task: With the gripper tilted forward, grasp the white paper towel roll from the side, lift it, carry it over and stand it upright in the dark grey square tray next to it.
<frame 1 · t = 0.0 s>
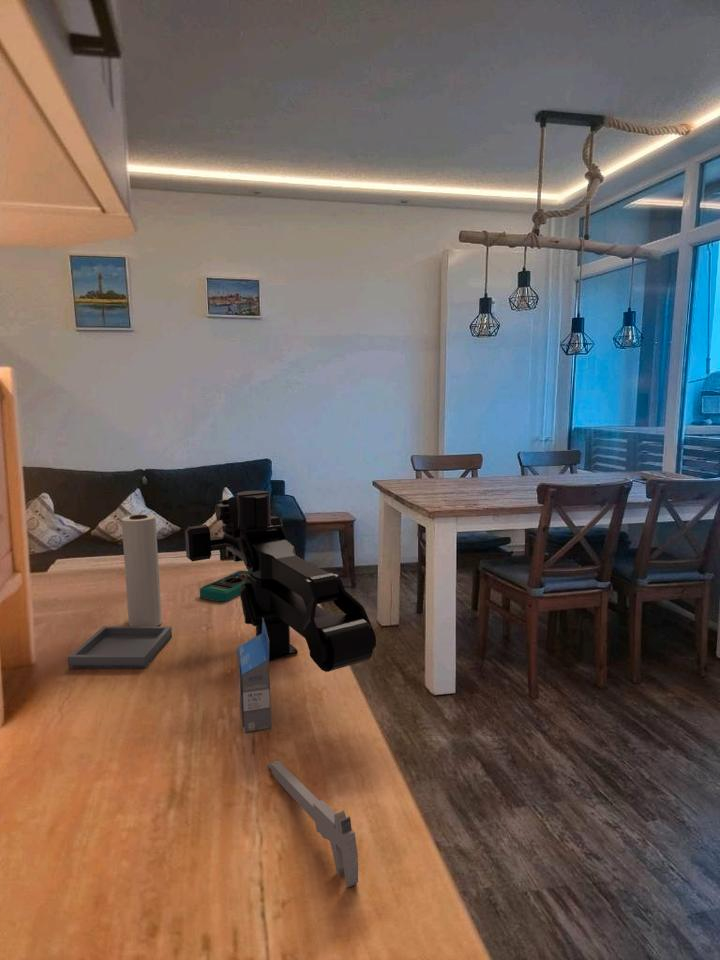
hand: (221, 529, 119), 17 cm above the table, tool horizontal, fingers open, 9 cm apart
digital multimeter: (233, 592, 133), on the table
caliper: (306, 821, 61), on the table
paper towel roll: (146, 624, 113), on the table
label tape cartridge: (255, 715, 81), on the table
tray: (123, 651, 101), on the table
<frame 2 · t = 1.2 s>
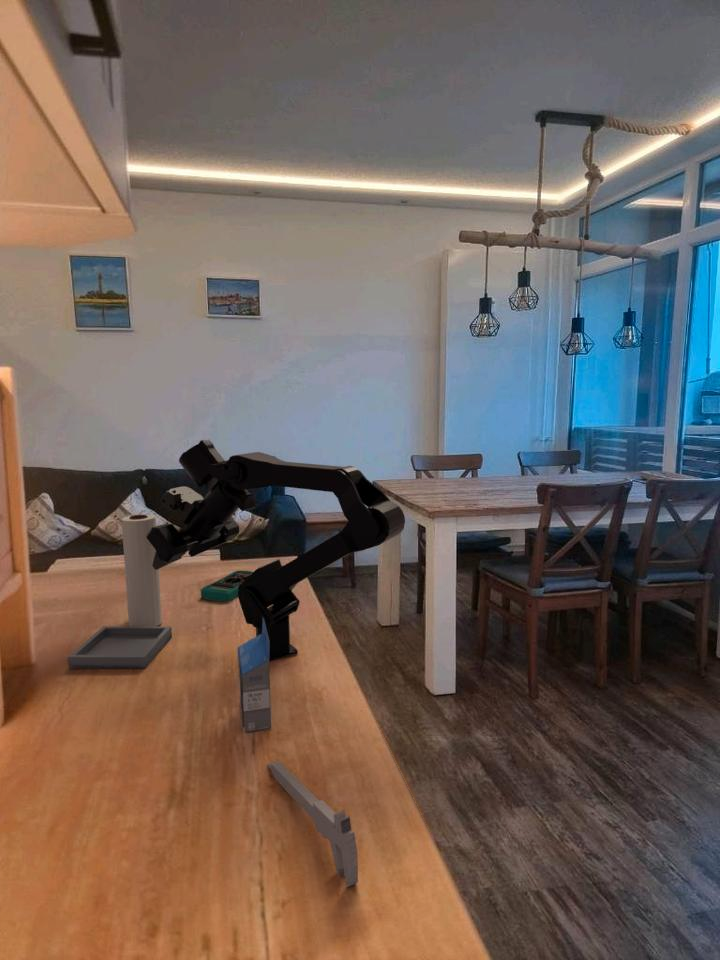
hand: (173, 561, 108), 13 cm above the table, tool tilted 45°, fingers open, 9 cm apart
nothing on the table moved.
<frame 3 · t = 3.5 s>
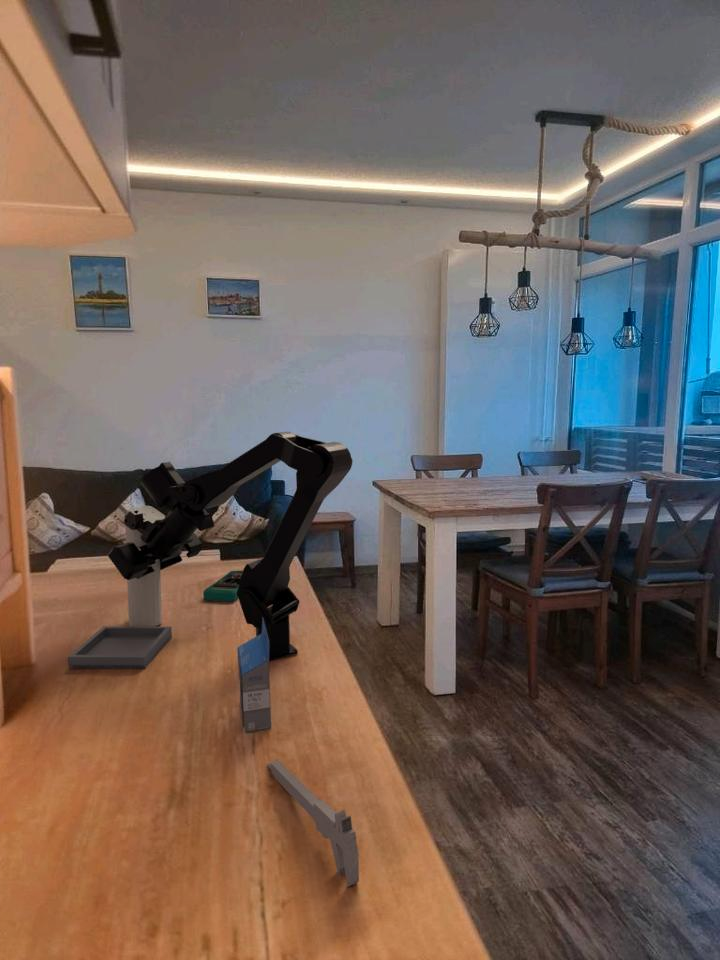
hand: (137, 577, 112), 9 cm above the table, tool tilted 45°, fingers closed on paper towel roll, 3 cm apart
paper towel roll: (146, 624, 113), on the table, touching gripper
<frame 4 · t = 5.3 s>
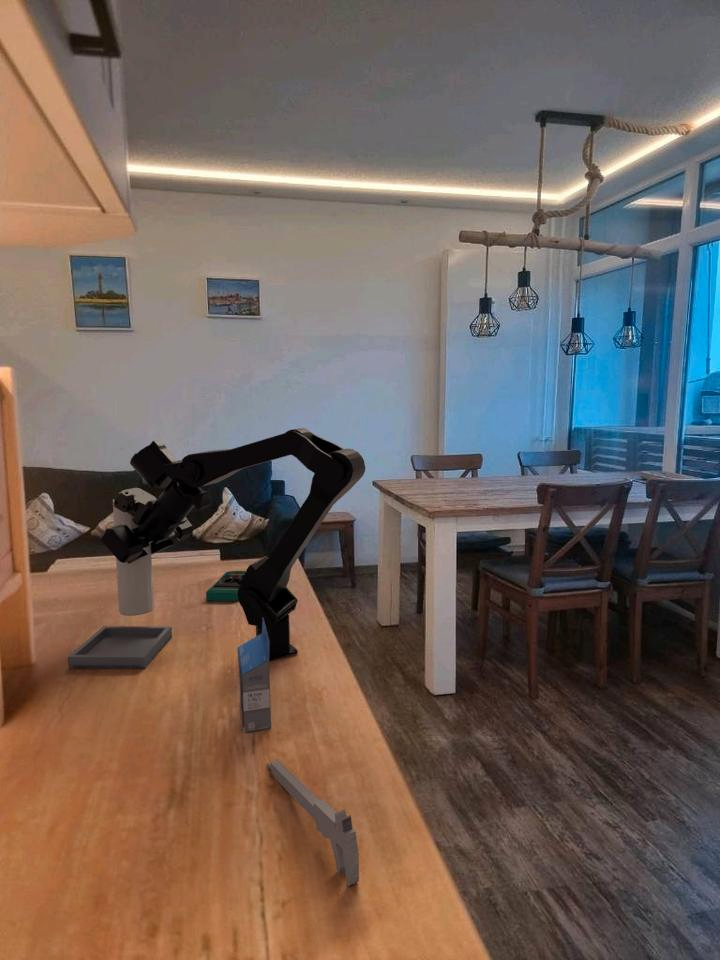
hand: (126, 563, 108), 13 cm above the table, tool tilted 45°, fingers closed on paper towel roll, 3 cm apart
paper towel roll: (136, 611, 109), point 4 cm above the table, touching gripper
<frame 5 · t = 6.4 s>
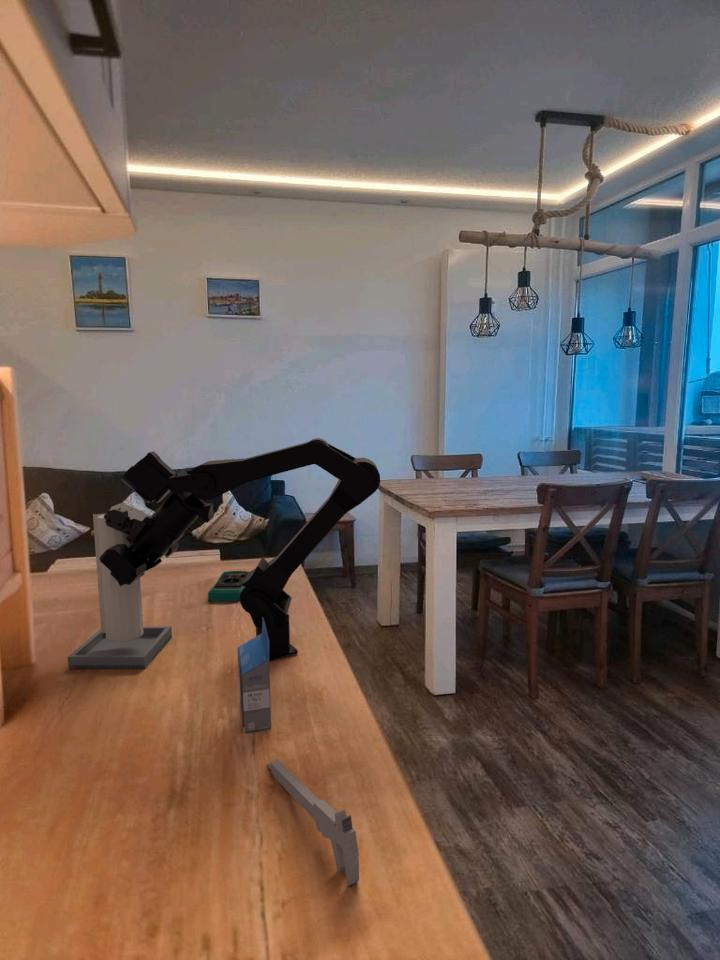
hand: (111, 585, 99), 12 cm above the table, tool tilted 45°, fingers closed on paper towel roll, 3 cm apart
paper towel roll: (124, 637, 101), point 3 cm above the table, touching gripper
when the fingers open (11 cm above the table, at t = 6.8 s): paper towel roll drops 1 cm, resting on tray.
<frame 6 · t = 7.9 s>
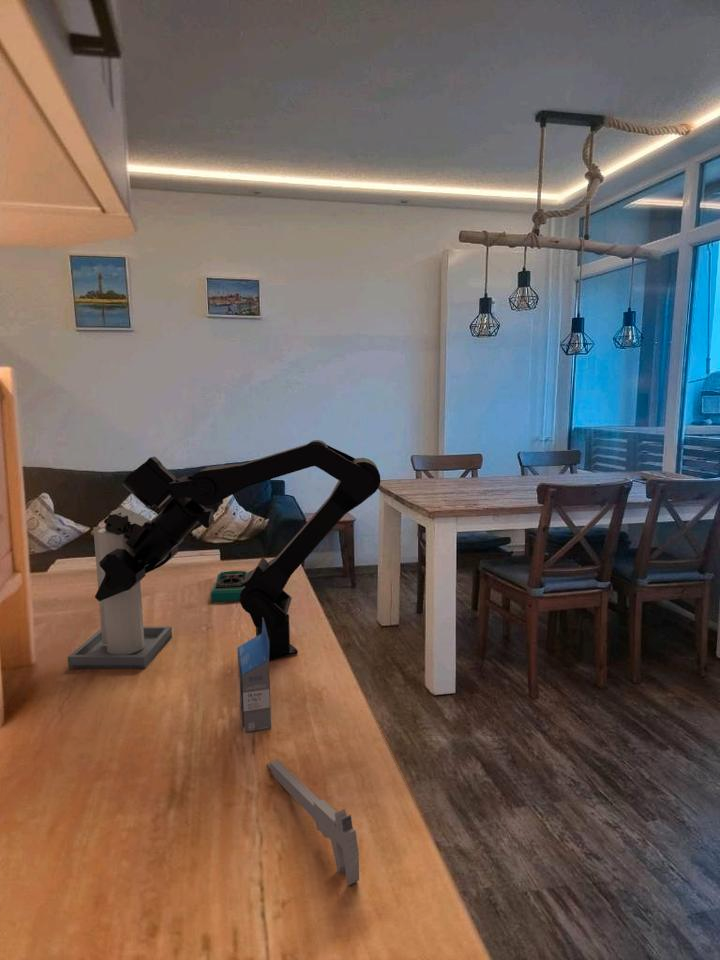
hand: (110, 589, 99), 11 cm above the table, tool tilted 45°, fingers open, 9 cm apart
paper towel roll: (125, 649, 101), resting on tray
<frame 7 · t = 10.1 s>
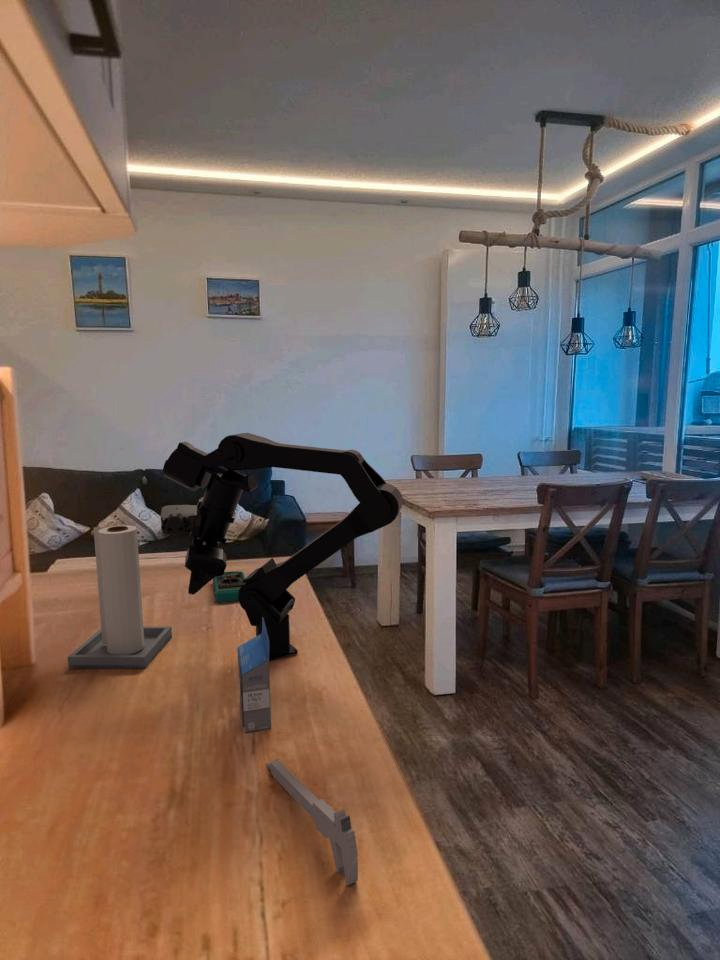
hand: (192, 578, 103), 12 cm above the table, tool tilted 25°, fingers open, 9 cm apart
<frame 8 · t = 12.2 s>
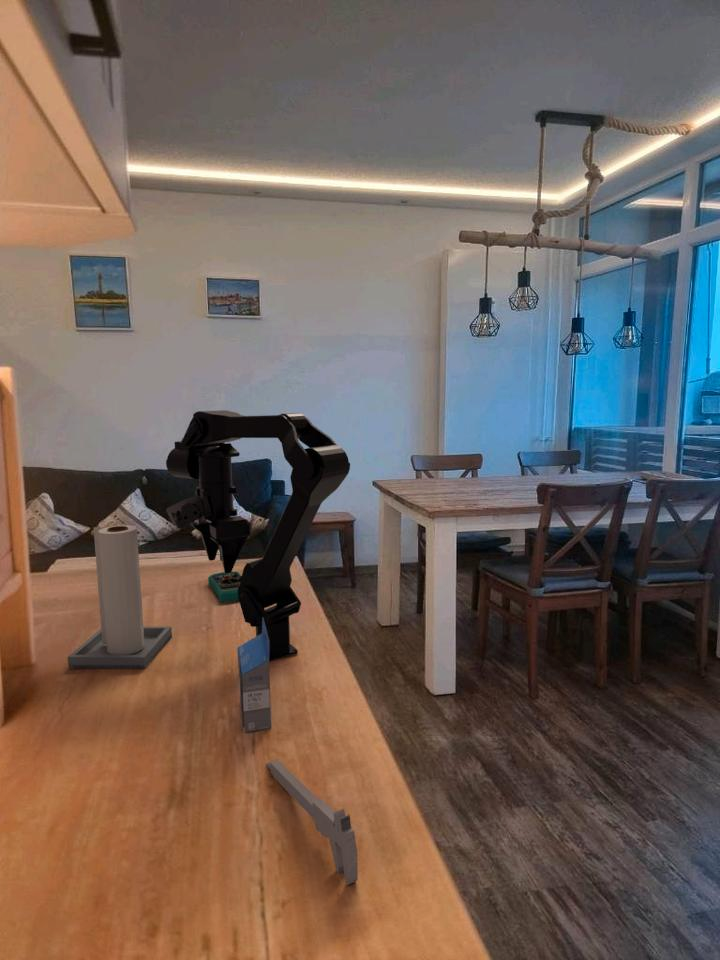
hand: (219, 566, 106), 13 cm above the table, tool pointing down, fingers open, 9 cm apart
at the end: paper towel roll inside the target area on the tray (0.4 cm from its centre), point 0.4 cm above the tray's base; paper towel roll tilted 0°; the gripper is holding nothing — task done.
